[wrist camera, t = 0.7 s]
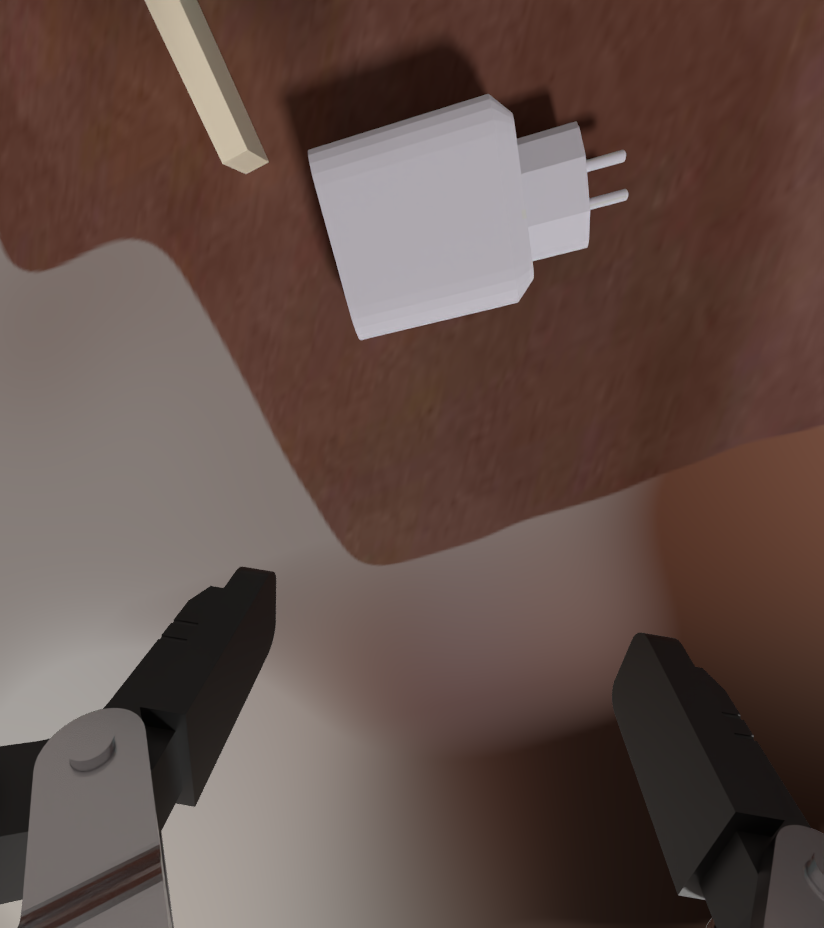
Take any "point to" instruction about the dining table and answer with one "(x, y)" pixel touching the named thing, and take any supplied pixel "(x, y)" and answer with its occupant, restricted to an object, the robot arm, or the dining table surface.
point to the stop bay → (208, 82)
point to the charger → (451, 211)
